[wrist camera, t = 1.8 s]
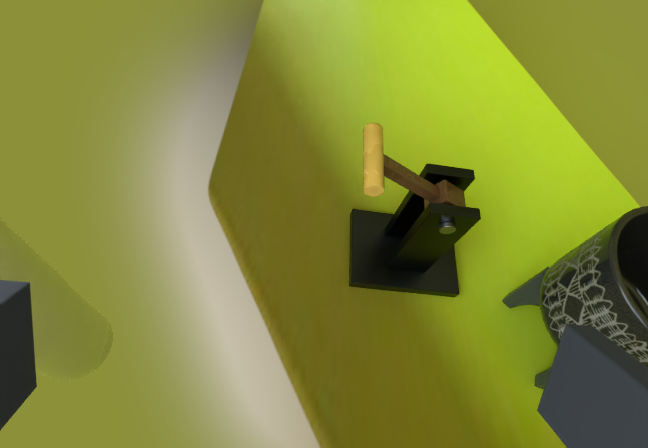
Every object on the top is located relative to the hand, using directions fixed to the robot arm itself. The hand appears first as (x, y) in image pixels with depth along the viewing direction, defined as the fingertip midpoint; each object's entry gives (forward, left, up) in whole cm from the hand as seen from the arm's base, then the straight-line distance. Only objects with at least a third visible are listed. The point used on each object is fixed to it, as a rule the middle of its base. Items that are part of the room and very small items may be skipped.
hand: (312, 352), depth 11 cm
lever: (+10, +18, -19) cm, 28 cm away
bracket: (+14, +18, -32) cm, 39 cm away
